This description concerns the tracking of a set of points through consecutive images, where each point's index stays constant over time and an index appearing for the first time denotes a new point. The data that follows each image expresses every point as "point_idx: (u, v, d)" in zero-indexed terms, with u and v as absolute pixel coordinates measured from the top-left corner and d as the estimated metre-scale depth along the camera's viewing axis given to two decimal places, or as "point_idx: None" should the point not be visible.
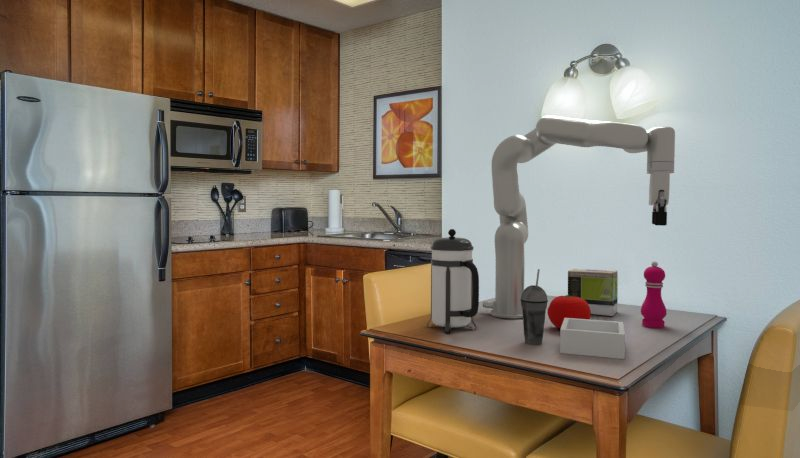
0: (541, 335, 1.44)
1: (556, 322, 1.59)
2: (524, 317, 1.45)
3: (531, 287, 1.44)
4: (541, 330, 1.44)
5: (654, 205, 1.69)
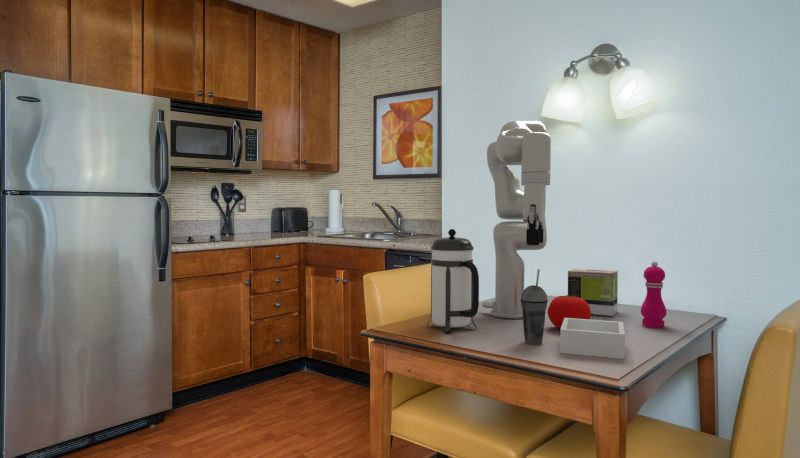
0: (541, 335, 1.44)
1: (556, 322, 1.59)
2: (524, 317, 1.45)
3: (531, 287, 1.44)
4: (541, 330, 1.44)
5: None
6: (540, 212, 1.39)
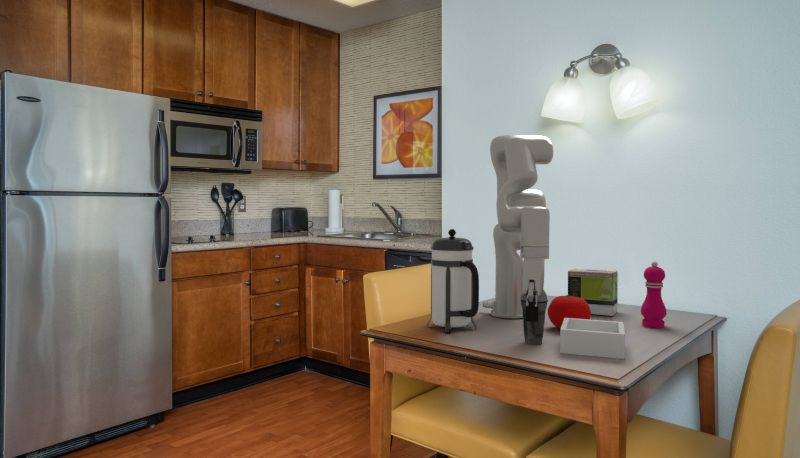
0: (541, 335, 1.44)
1: (556, 322, 1.59)
2: (524, 317, 1.45)
3: None
4: (541, 330, 1.44)
5: None
6: (539, 287, 1.40)
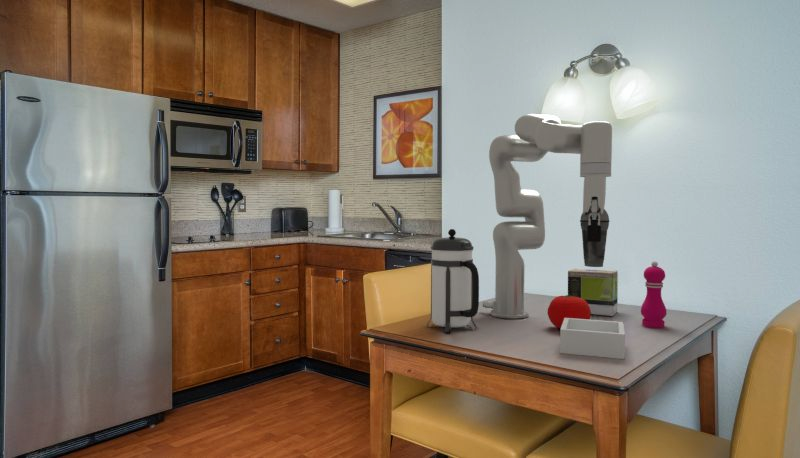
0: (603, 257, 1.37)
1: (556, 322, 1.59)
2: (584, 238, 1.38)
3: None
4: (602, 252, 1.37)
5: None
6: (602, 205, 1.34)
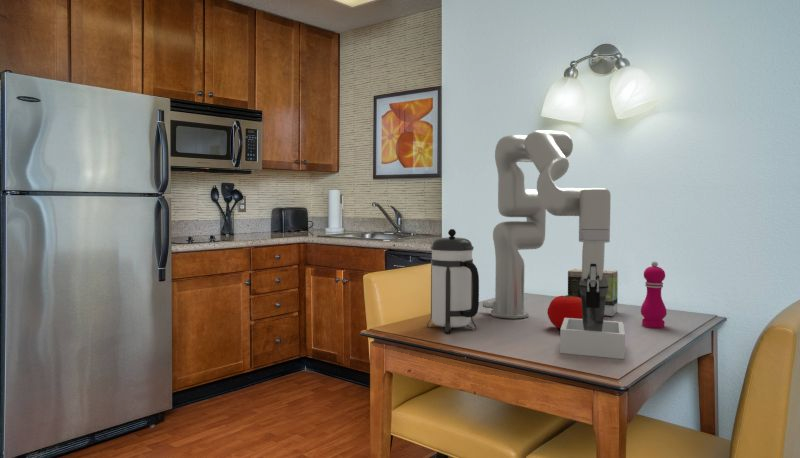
0: (601, 322, 1.38)
1: (556, 322, 1.59)
2: (583, 303, 1.39)
3: None
4: (601, 317, 1.38)
5: None
6: (601, 272, 1.34)
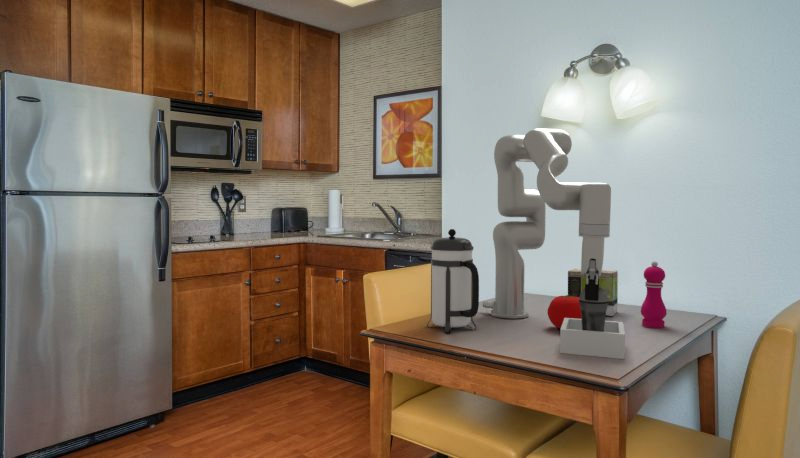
0: None
1: (556, 322, 1.59)
2: (583, 318, 1.39)
3: None
4: None
5: None
6: (600, 267, 1.35)
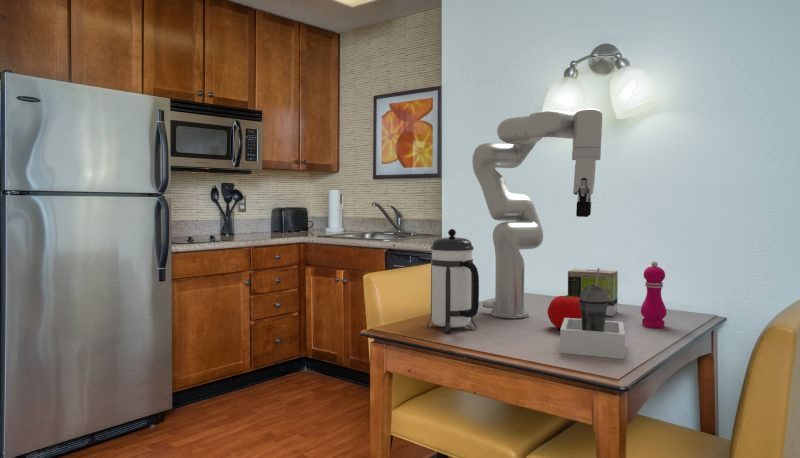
0: None
1: (556, 322, 1.59)
2: (583, 318, 1.39)
3: (591, 287, 1.38)
4: None
5: None
6: (591, 185, 1.46)
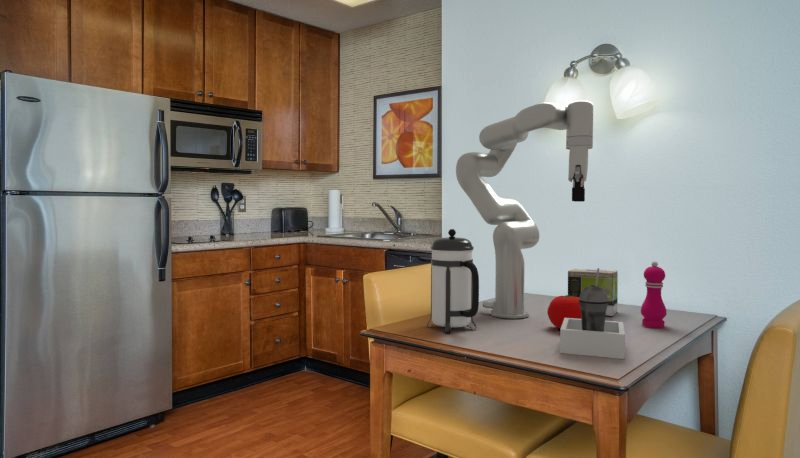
0: None
1: (556, 322, 1.59)
2: (583, 318, 1.38)
3: (591, 287, 1.38)
4: None
5: None
6: (584, 172, 1.56)
